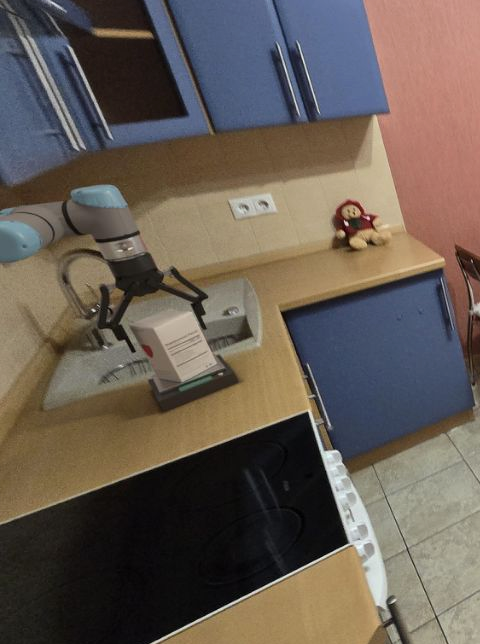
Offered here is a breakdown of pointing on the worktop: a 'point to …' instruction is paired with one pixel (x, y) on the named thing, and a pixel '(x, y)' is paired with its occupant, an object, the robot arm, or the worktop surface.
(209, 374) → the scale pan
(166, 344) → the rectangular carton
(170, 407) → the scale base
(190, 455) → the worktop surface
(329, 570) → the worktop surface
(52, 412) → the worktop surface
